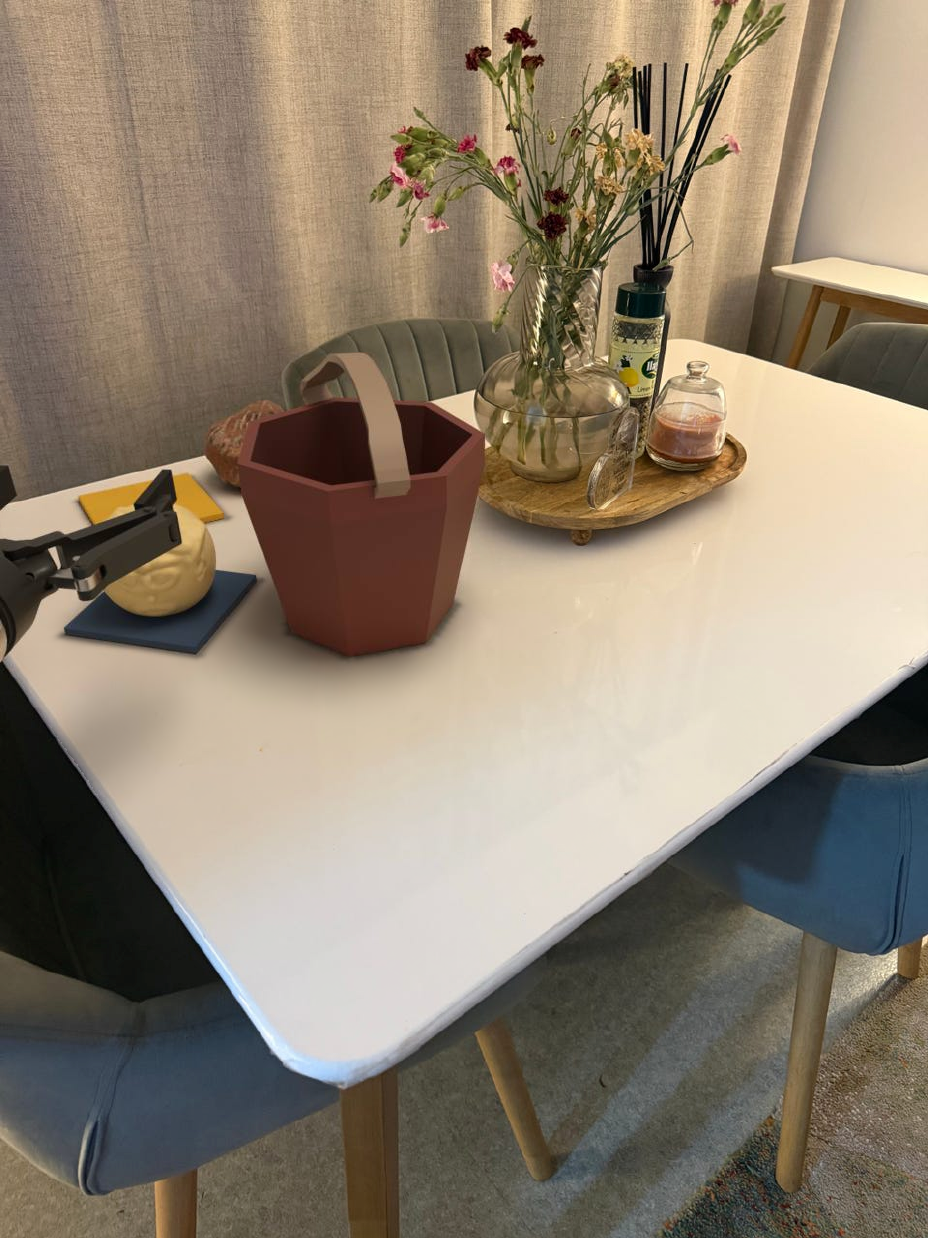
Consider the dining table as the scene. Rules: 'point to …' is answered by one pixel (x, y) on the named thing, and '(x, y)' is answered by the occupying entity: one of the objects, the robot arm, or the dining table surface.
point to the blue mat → (164, 618)
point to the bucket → (362, 508)
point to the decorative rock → (233, 438)
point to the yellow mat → (109, 500)
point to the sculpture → (169, 572)
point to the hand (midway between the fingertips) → (89, 482)
